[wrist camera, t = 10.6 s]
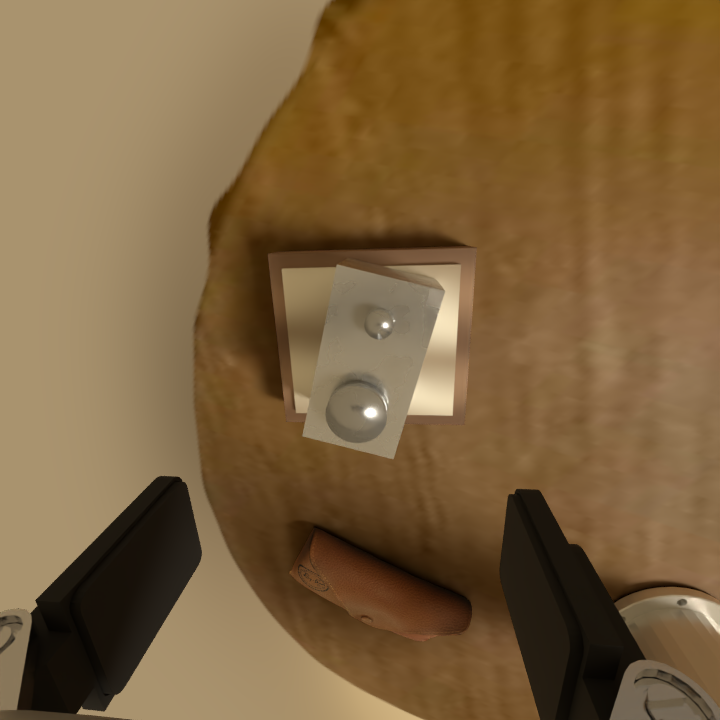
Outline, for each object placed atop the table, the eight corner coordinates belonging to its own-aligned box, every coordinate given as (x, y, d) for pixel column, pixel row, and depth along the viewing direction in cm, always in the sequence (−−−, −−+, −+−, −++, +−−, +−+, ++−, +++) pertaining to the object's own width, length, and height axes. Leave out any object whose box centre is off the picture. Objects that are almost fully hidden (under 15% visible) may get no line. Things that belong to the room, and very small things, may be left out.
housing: (436, 279, 24) (448, 294, 19) (394, 420, 28) (393, 470, 22) (348, 257, 25) (333, 266, 19) (318, 402, 28) (297, 446, 23)
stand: (458, 407, 31) (465, 427, 28) (296, 404, 32) (284, 424, 29) (468, 245, 27) (477, 248, 24) (280, 251, 28) (265, 254, 25)
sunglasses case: (282, 576, 39) (278, 608, 33) (312, 513, 41) (314, 532, 34) (429, 643, 41) (453, 687, 34) (454, 580, 42) (481, 611, 36)
